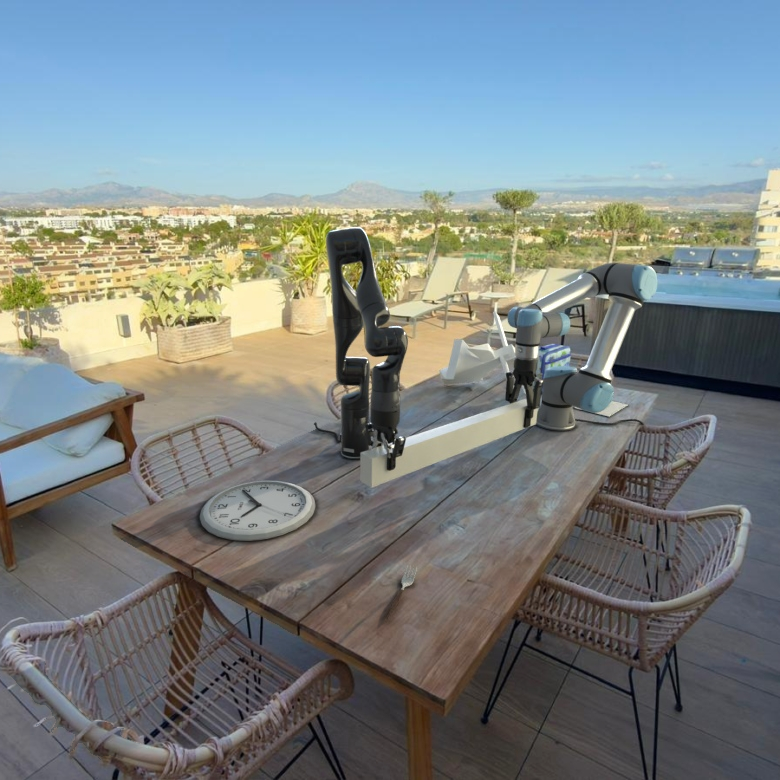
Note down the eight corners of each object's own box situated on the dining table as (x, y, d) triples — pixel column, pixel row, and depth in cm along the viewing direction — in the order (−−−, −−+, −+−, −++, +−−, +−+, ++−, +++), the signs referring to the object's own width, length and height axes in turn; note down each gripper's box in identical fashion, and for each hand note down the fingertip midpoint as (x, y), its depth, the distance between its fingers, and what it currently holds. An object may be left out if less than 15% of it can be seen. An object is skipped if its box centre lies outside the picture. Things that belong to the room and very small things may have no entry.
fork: (380, 619, 101) (380, 610, 101) (406, 571, 116) (406, 563, 115) (393, 622, 101) (393, 614, 100) (417, 574, 115) (417, 566, 114)
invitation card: (608, 416, 214) (573, 407, 224) (608, 416, 214) (573, 408, 224) (628, 404, 229) (594, 396, 238) (628, 405, 229) (594, 397, 238)
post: (524, 420, 182) (526, 398, 180) (536, 424, 179) (538, 401, 176) (360, 481, 136) (360, 452, 134) (371, 487, 133) (371, 458, 131)
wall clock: (312, 532, 127) (184, 536, 124) (312, 538, 127) (185, 542, 125) (317, 476, 155) (214, 478, 153) (318, 481, 156) (214, 483, 153)
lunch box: (542, 396, 239) (547, 351, 232) (522, 391, 246) (526, 347, 240) (570, 385, 256) (575, 343, 250) (550, 380, 263) (554, 339, 257)
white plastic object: (461, 429, 252) (437, 405, 227) (444, 352, 274) (420, 323, 250) (535, 404, 240) (518, 377, 215) (510, 326, 262) (492, 293, 237)
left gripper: (356, 400, 135) (356, 460, 140) (392, 416, 125) (391, 480, 130) (378, 395, 140) (378, 453, 145) (415, 409, 130) (413, 471, 135)
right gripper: (496, 354, 173) (492, 419, 181) (543, 364, 161) (536, 435, 168) (510, 350, 178) (505, 414, 185) (556, 361, 165) (549, 429, 172)
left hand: (384, 465), depth 138 cm, fingers closed on post, 4 cm apart
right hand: (520, 424), depth 176 cm, fingers closed on post, 5 cm apart
